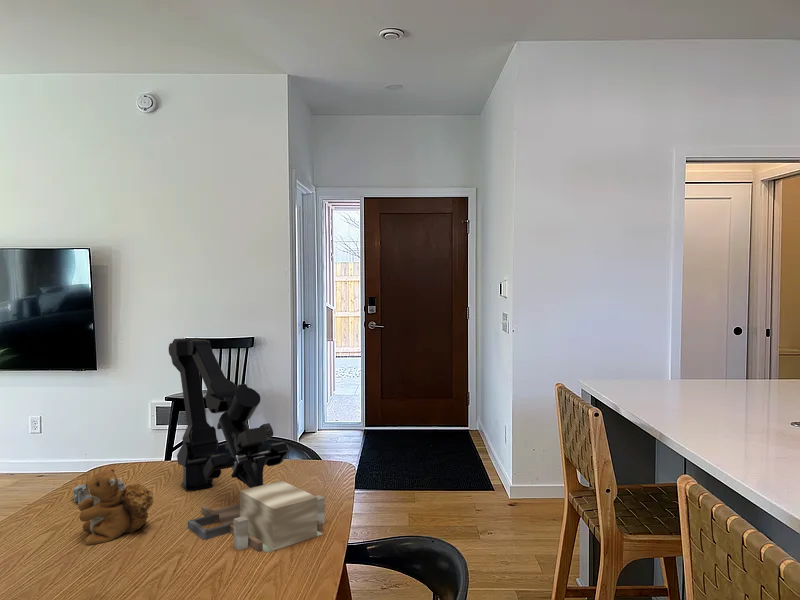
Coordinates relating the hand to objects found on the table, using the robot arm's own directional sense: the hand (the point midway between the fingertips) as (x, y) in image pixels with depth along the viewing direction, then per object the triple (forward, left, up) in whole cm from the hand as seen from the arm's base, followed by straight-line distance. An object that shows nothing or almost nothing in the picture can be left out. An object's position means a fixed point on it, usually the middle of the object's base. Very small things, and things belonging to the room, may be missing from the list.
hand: (260, 493), depth 123 cm
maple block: (+1, -7, -6) cm, 10 cm away
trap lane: (0, 0, -7) cm, 7 cm away
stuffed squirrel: (-27, +12, -7) cm, 30 cm away
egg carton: (-28, +37, -7) cm, 47 cm away
